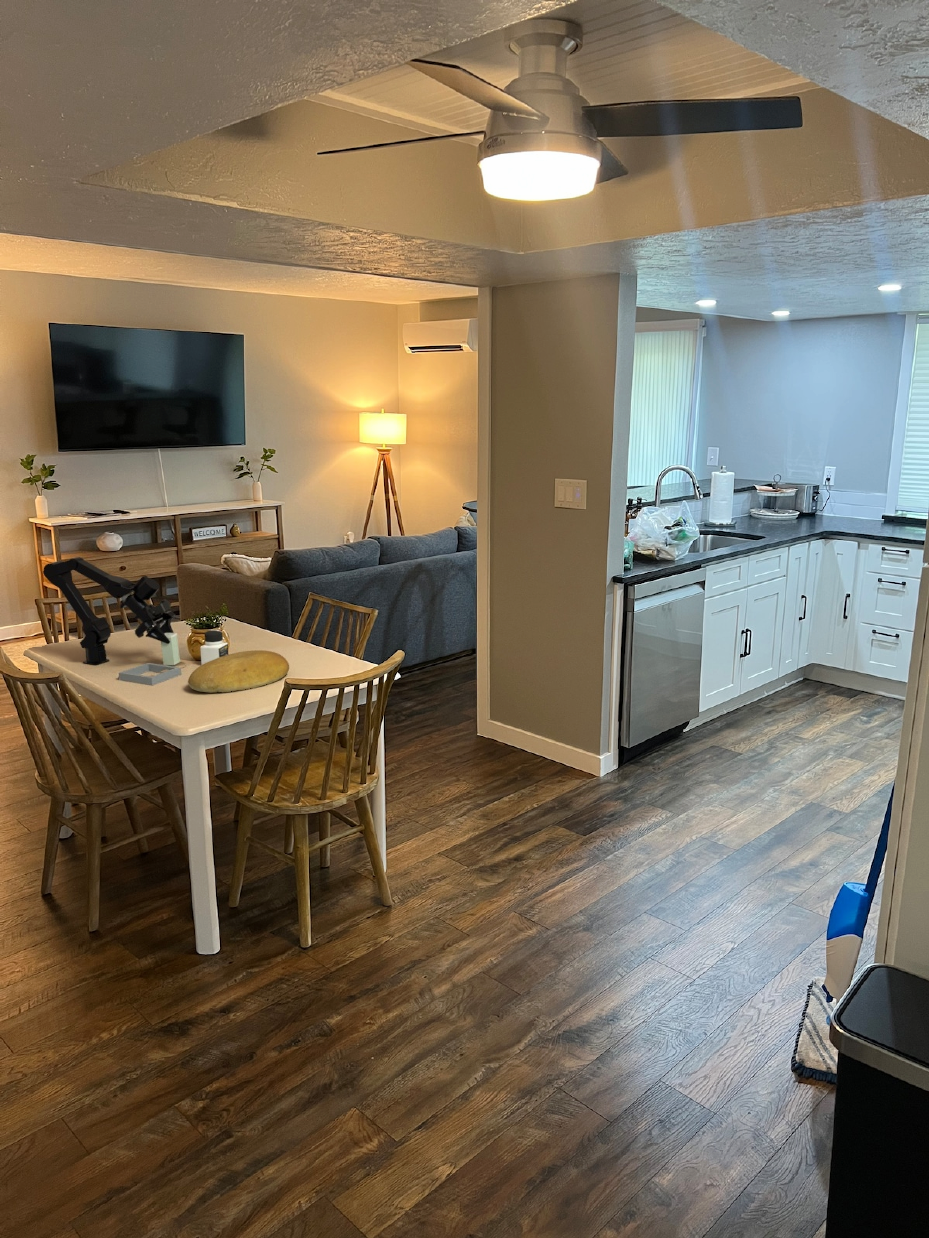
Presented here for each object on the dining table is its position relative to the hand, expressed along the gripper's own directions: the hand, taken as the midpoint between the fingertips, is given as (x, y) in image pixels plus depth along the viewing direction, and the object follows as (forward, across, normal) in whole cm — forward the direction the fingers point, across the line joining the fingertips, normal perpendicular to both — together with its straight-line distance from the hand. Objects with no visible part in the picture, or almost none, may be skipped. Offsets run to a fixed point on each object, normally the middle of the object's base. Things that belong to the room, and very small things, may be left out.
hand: (172, 641), depth 317 cm
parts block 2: (+9, -11, +4) cm, 15 cm away
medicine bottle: (+16, +6, -2) cm, 17 cm away
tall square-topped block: (+5, 0, +6) cm, 8 cm away
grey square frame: (+5, -13, +8) cm, 16 cm away
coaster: (+6, 0, +7) cm, 9 cm away
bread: (+29, -13, -15) cm, 35 cm away
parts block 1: (+8, -18, +6) cm, 20 cm away
